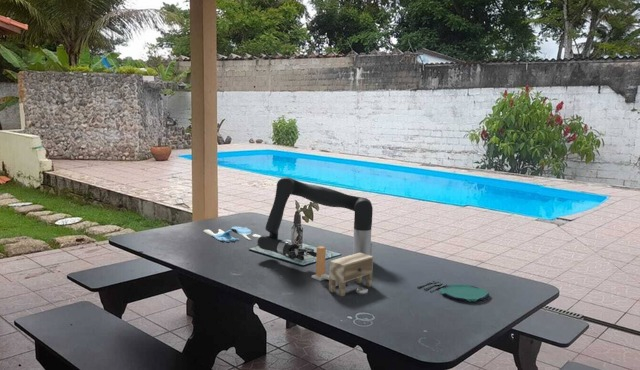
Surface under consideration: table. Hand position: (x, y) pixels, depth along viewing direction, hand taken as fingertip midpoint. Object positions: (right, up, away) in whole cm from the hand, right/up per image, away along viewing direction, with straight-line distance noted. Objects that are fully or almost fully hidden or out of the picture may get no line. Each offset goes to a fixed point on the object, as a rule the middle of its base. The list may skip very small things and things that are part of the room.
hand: (310, 256), depth 261 cm
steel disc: (+23, -13, -22) cm, 35 cm away
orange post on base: (+8, -10, -7) cm, 15 cm away
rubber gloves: (-48, +3, +72) cm, 87 cm away
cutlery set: (+65, -14, -19) cm, 69 cm away
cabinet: (+19, -12, -18) cm, 28 cm away
